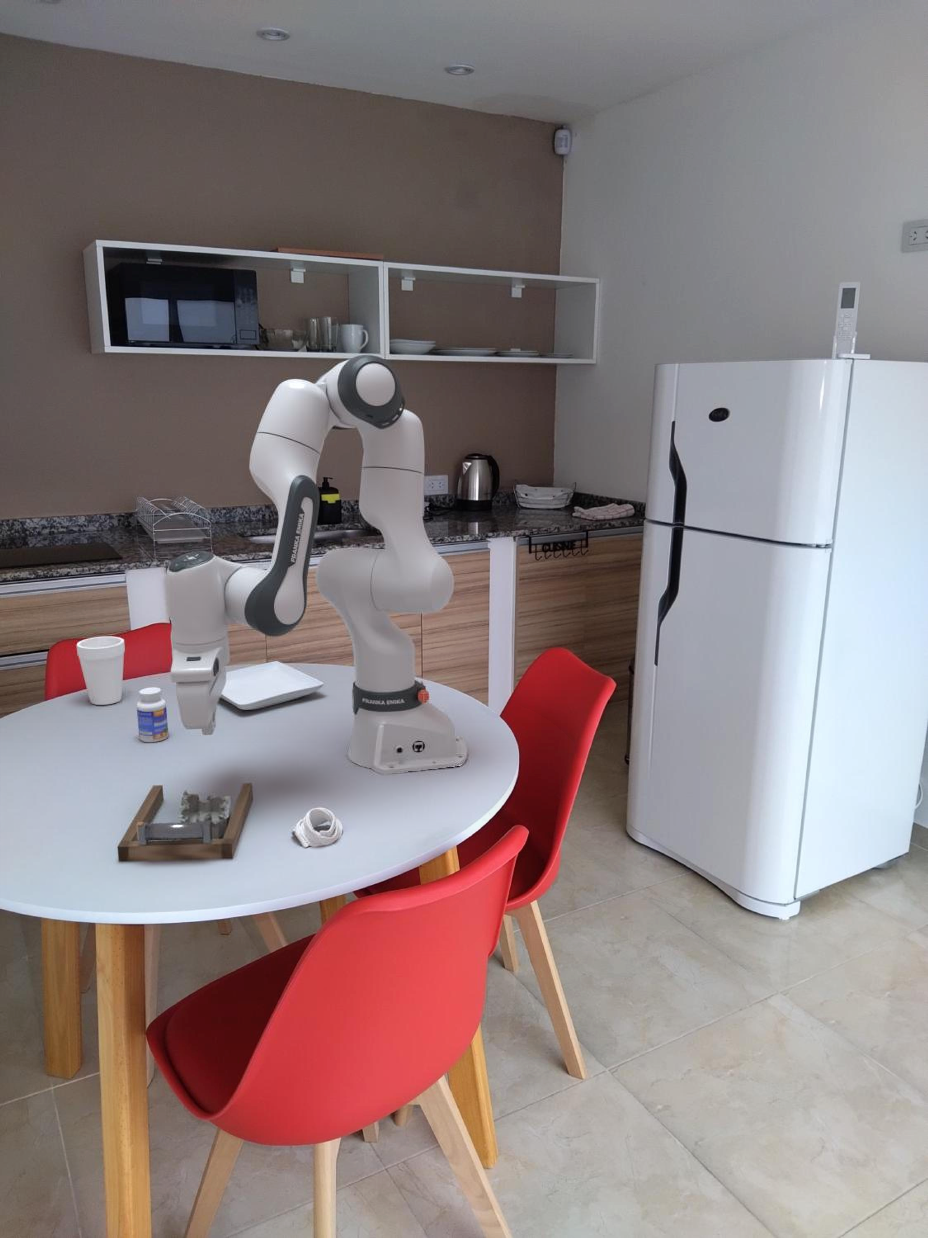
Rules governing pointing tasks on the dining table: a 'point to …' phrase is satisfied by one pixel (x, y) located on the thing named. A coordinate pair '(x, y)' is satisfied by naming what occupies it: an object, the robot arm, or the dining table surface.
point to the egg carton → (206, 812)
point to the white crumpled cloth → (314, 819)
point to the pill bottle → (152, 715)
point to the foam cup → (102, 668)
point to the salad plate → (267, 685)
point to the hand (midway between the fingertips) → (209, 731)
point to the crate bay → (183, 848)
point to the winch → (174, 831)
